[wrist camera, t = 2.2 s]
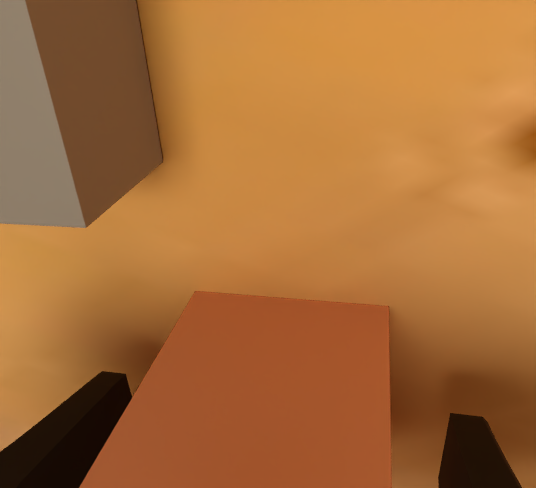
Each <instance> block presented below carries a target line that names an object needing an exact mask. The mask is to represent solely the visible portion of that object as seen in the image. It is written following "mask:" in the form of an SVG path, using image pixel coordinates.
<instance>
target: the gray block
mask: <svg viewBox="0 0 536 488" xmlns="http://www.w3.org/2000/svg"><path fill="white" fill-rule="evenodd" d="M162 162H163V159H162V153H161V147H160V141H159V135H158V129H157V123H156V117H155V111H154V105H153V99H152V93H151V87H150V81H149V75H148V69H147V63H146V57H145V51H144V45H143V39H142V34H141V28H140V22H139V16H138V10H137V4H136V0H0V223H4V224H23V225H42V226H61V227H80V228H86V227H88V226H89V225H90V224H91V223H92V222H93V221H95V220H96V219H97V218H98V217H99V216H100V215H101V214H103V213H104V212H105V211H106V210H107V209H108V208H110V207H111V206H112V205H113V204H114V203H115V202H117V201H118V200H119V199H120V198H121V197H122V196H124V195H125V194H126V193H127V192H128V191H129V190H131V189H132V188H133V187H134V186H135V185H136V184H138V183H139V182H140V181H141V180H142V179H143V178H145V177H146V176H147V175H148V174H149V173H150V172H152V171H153V170H154V169H155V168H156V167H157V166H159V165H160V164H161V163H162Z"/></svg>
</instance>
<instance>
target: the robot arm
mask: <svg viewBox="0 0 536 488" xmlns="http://www.w3.org/2000/svg"><path fill="white" fill-rule="evenodd" d="M131 399H132V396H131V392H130V388H129V384H128V381H127V377H126V374H121V373H113V372H104V371H102V372H101V373H99V374H98V375H97V376H96V377H94V378H93V379H92V380H90V381H89V382H88V383H87V384H85V385H84V386H83V387H82V388H80V389H79V390H78V391H77V392H76V393H74V394H73V395H72V396H71V397H69V398H68V399H67V400H66V401H65V402H63V403H62V404H61V405H60V406H58V407H57V408H56V409H55V410H53V411H52V412H51V413H50V414H48V415H47V416H46V417H45V418H43V419H42V420H41V421H40V422H38V423H37V424H36V425H35V426H33V427H32V428H31V429H30V430H28V431H27V432H26V433H25V434H23V435H22V436H21V437H19V438H18V439H17V440H16V441H14V442H13V443H12V444H10V445H9V446H8V447H6V448H5V449H3V450H2V451H1V452H0V488H79V487H80V485H81V484H82V482H83V480H84V479H85V477H86V475H87V473H88V472H89V470H90V468H91V467H92V465H93V463H94V462H95V460H96V458H97V457H98V455H99V453H100V451H101V450H102V448H103V446H104V445H105V443H106V441H107V440H108V438H109V436H110V435H111V433H112V431H113V429H114V428H115V426H116V424H117V423H118V421H119V419H120V418H121V416H122V414H123V413H124V411H125V409H126V408H127V406H128V404H129V402H130V401H131ZM438 480H439V488H522V487H521V485H520V483H519V482H518V480H517V478H516V476H515V474H514V473H513V471H512V469H511V467H510V465H509V464H508V462H507V460H506V458H505V456H504V454H503V452H502V450H501V449H500V447H499V445H498V443H497V441H496V439H495V437H494V435H493V433H492V431H491V429H490V426H489V424H488V422H487V421H486V420H485V419H484V418H483V417H478V416H470V415H462V414H453V413H450V418H449V423H448V429H447V434H446V439H445V445H444V450H443V456H442V461H441V466H440V472H439V477H438Z"/></svg>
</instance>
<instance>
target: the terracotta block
mask: <svg viewBox="0 0 536 488" xmlns="http://www.w3.org/2000/svg"><path fill="white" fill-rule="evenodd" d="M79 488H392V482H391V417H390V351H389V306H379V305H366V304H353V303H341V302H328V301H315V300H302V299H290V298H277V297H264V296H251V295H239V294H226V293H213V292H200V291H195V292H194V294H193V296H192V298H191V299H190V301H189V303H188V304H187V306H186V308H185V309H184V311H183V313H182V314H181V316H180V318H179V320H178V321H177V323H176V325H175V326H174V328H173V330H172V331H171V333H170V335H169V336H168V338H167V340H166V342H165V343H164V345H163V347H162V348H161V350H160V352H159V353H158V355H157V357H156V358H155V360H154V362H153V364H152V365H151V367H150V369H149V370H148V372H147V374H146V375H145V377H144V379H143V380H142V382H141V384H140V386H139V387H138V389H137V391H136V392H135V394H134V396H133V397H132V399H131V401H130V402H129V404H128V406H127V408H126V409H125V411H124V413H123V414H122V416H121V418H120V419H119V421H118V423H117V424H116V426H115V428H114V429H113V431H112V433H111V435H110V436H109V438H108V440H107V441H106V443H105V445H104V446H103V448H102V450H101V451H100V453H99V455H98V457H97V458H96V460H95V462H94V463H93V465H92V467H91V468H90V470H89V472H88V473H87V475H86V477H85V479H84V480H83V482H82V484H81V485H80V487H79Z"/></svg>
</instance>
